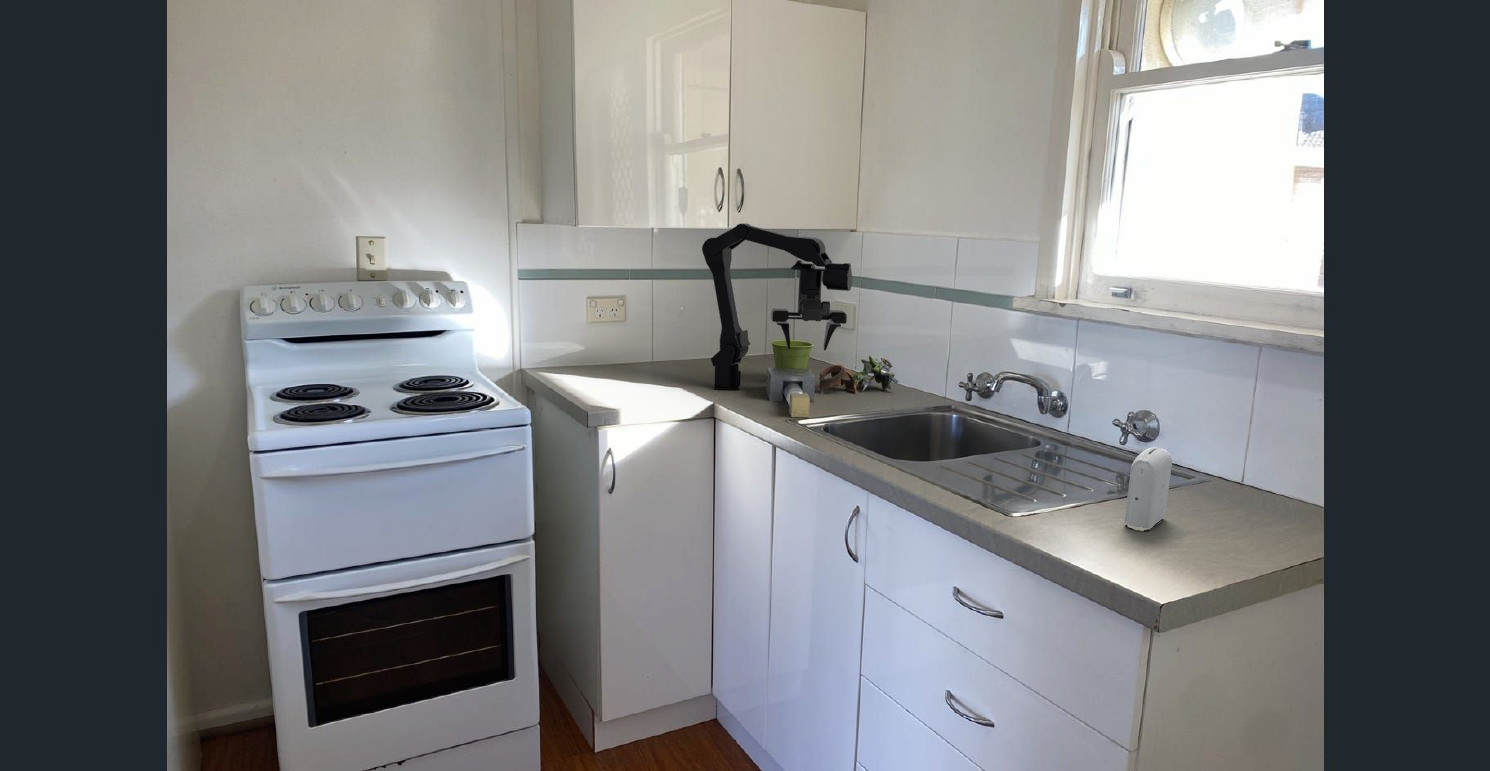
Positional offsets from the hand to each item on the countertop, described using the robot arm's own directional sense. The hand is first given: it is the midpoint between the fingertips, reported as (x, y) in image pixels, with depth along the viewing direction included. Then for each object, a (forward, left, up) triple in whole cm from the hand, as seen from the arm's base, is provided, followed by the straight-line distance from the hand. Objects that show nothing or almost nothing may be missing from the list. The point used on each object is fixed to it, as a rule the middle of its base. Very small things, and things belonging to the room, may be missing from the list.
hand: (806, 349), depth 234 cm
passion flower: (+19, +9, -12) cm, 24 cm away
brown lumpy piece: (+10, +7, -12) cm, 17 cm away
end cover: (-4, -16, -12) cm, 21 cm away
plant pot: (-2, +16, -12) cm, 20 cm away
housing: (-4, -1, -12) cm, 13 cm away
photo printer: (+44, -93, -12) cm, 104 cm away
